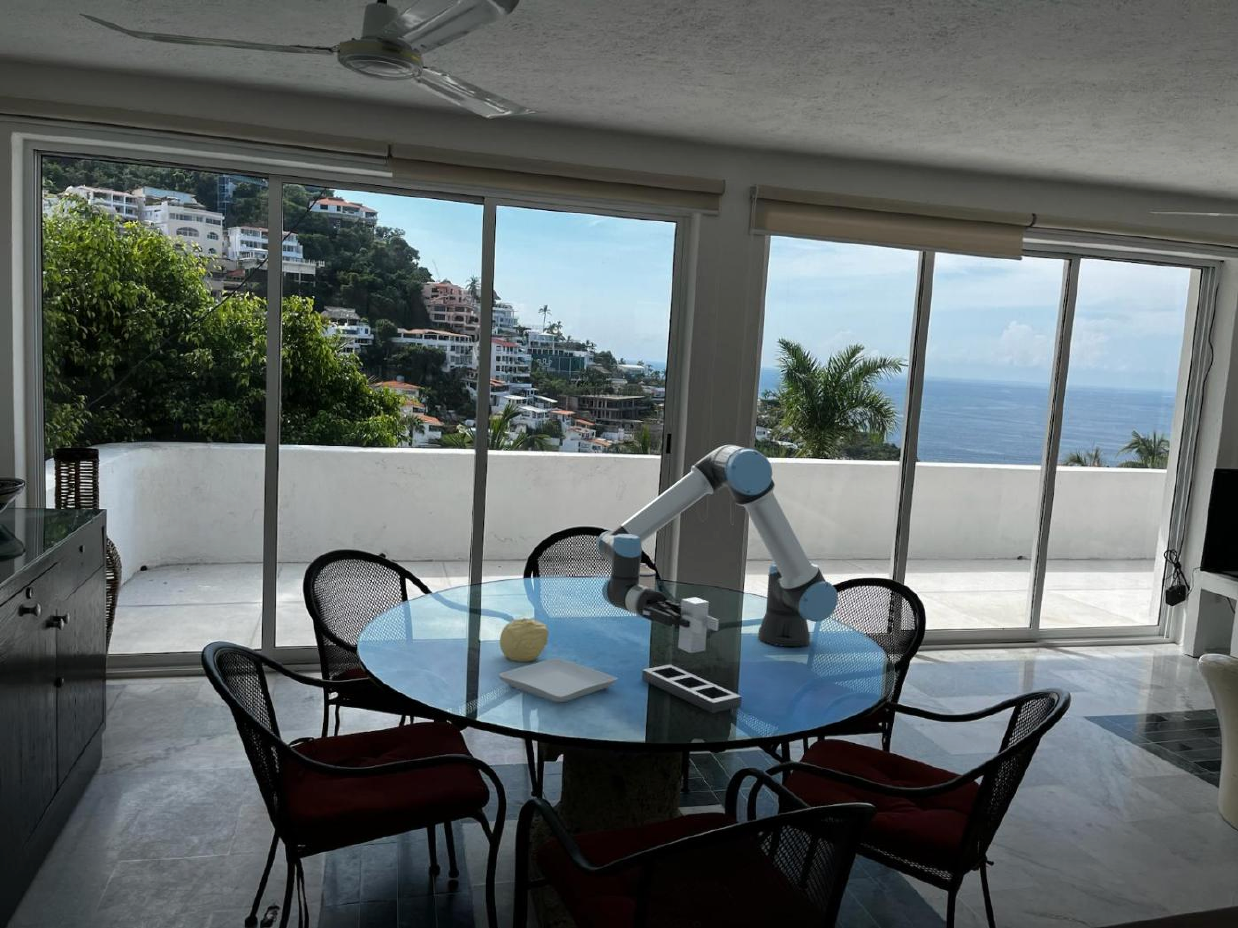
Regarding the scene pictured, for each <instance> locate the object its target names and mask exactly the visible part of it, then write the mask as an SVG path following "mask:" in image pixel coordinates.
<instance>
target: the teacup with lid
mask: <svg viewBox="0 0 1238 928" xmlns="http://www.w3.org/2000/svg"><path fill="white" fill-rule="evenodd" d="M656 575H657V573H656V571H655V570H654V569H652V568H650V567H648V566H647V564H646V563H643V562H641V564H640V577H639V585H642V586H645V587H648V588H651V589H653V590H655V585H656Z"/></svg>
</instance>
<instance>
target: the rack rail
mask: <svg viewBox="0 0 1238 928" xmlns="http://www.w3.org/2000/svg"><path fill="white" fill-rule="evenodd" d="M641 672H642V674H641V680H642V681H645V682H647V683H648V684H651V685H653V686H655V687H657V688H659V689H661V690H664V691H665V692H667V693H669V694H671V695H673V696H676V697H678V698H680V699H682V700H684V701H687V702H688V703H690V704H692V705H694V706H696V707H697V708H698V707H699V708H700V709H702V710H704V711H707V712H708V713H711V714H715V713H719V711H720V712H723V711H724V712H725V711H727V710H728V711H729V710H732V709H737V708H741V706H742V695H739V694H738V693H735V692H733V691H730V690H729V689H726V688H724V687H721V686H719V685H718V684H715V683H713V682H710V681H708V680H706V679H704V678H701V677H699V676H697V675H695V674H692V673H690V672H688V671H686V670H684V669H681V668H679V667H677V666H674V665H673V664H665V665H660V666H655V667H650V668H643V669H642V671H641ZM714 697H715V698H714Z"/></svg>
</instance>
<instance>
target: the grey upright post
mask: <svg viewBox="0 0 1238 928" xmlns="http://www.w3.org/2000/svg"><path fill="white" fill-rule="evenodd" d="M681 602H682V603H681ZM681 602H680V603H681V616H682V615H685V616H687V617H690V618H693V619H695V620H698V621H701V622H702V630H701V633H700V634H699V633H696V632H693V631H691V630H688V629H686V628H683V627H681V626H680V629H678V630H679V632H678V645H677V648H678V649H680V650H682V651H685V652H687V653H689V654H692V653H699V652H704V651H706V646H707V645H706V644H707V642H706V641H707V631H708V630H707V629H708V628H707V619H708V616H709V604H710V602H709V601H708V600H705V599H702V598H699V597H688V598H681ZM681 616H680V618H681Z"/></svg>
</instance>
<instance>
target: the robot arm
mask: <svg viewBox="0 0 1238 928" xmlns="http://www.w3.org/2000/svg"><path fill="white" fill-rule="evenodd" d="M772 468H773V467H772V465H771V463H770V460H769V459H768V458H767V456H765V455H764V454H763V453H761V452H759V450H756V449H753V448H749V447H747V448H746V447H744V446H743V447H742V446H739V445H736V444H726V445H722V446H720V447H717V448H716V449H714V450H712V451H711V452H709V453H708V454H707V455H705V456H703V458H701V459H700V460H699V461H697V462H696V463H695V464H694V465H693V464H692V465H691V468H690V472H689V473H688V474H686V475H685V476H683V477H682V478H680V479H679V480H678V481H677V482H675V483H674V484H673V485H672V486H670V487H669V488H667V490H665V491H663V493H661V494H660V495H658V497H656V498H654V499H653V500H652V501H650V502H649V503H648V504H646V505H645V506H644V507H643V508H642V509H640V510H639V511H637V512H636V513H635V514H633V515H632V516H630V517H629V518H628V519H627V520H625V521H624V522H623V523H621V524H620V525H619V526H617V527H616V528H614V529H613V530H607V531H605V532H604V531H603V532H601V534H600V535H599V536H598V537H597V540H596V549H597V551H598V552H599V554H600V556H601V557H602V558H604V559H605V560H606V561H608V562H609V563H610V564H611V573H610V577H608V578H607V579H606V580H605V581H604V584H603V586H602V588H601V594H602V597H603V600H604V601H606V603H608V604H609V605H612V606H613V607H615V608H618V609H622V610H624V611H627V612H630V613H631V614H634V615H637V618H640V617H642V618H643V619H646V620H649V621H651V622H658V623H660V624H662V625H665V626H666V627H667V626H668V627H673V626H674V629H675V630H680V626H681V627H683V628H686V629H688V630H691V631H693V632H696V633H699V634H700V633H701V630H702V622H701V621H698V620H695V619H693V618H690V617H687V616H685V615H682V616H681V603H682V601H680V603H675V602H673V601H672V600H668V599H667V596H666V595H665V594H664V593H663V592H661V591H658V590H655V589H654V590H653V589H651V588H648V587H645V586H642V585H639V577H640V564H641V563H642V562H641V561H642V552H643V548H642V547H643V546H642V545H643V544H642V543H644V542H645V541H646V540H647V539H649V538H650V537H652V535H655V533H656V532H658V531H659V530H661V529H662V528H663V527H664V526H666V525H667V524H669V523H670V522H671V521H672V520H674V519H675V518H676V517H678V516H679V515H680V514H682V513H683V512H684V511H686V510H687V509H689V507H691V506H692V505H694V504H695V503H696V502H698V501H699V500H700V499H701V498H703V497H704V496H706V495H707V494H710V495H713V494H714V493H715V492H717V491H719V490H720V489H723V488H727V489H728V490H729V493H730V494H731V496H732V499H733V500H734V502H735V504H736V505H737V506H741V507H743V508H745V510H746V512H747V513H748V516H749V517H750V520H751V522H752V523H753V525H754V527H755V529H756V532H757V533H758V534H759V535H758V536H759V537H760V538H761V540H762V542H763V544H764V546H765V547H766V549H767V552H768V554H769V555H770V557H771V559H772V561H773V562H774V563H772V564H771V565H770V566H769V571H768V575H767V576H768V580H767V581H768V582H767V595H766V610H765V614H764V615H763V616H764V617H763V619H762V621H761V623H760V627H759V628H758V635H757V637H758V639H759V640H760V641H761V642H763V643H765V642H768V643H771V644H770V645H772V644H777V645H782V646H781V647H783V646H795V647H794V648H799V647H798V646H802V647H806V646H808V645H810V643H811V633H810V630H809V625H808V621H810V622H814V623H815V622H816V623H817V622H822V621H825V620H827V619H828V618H829V617H830V616H832V615H833V614H834V612H835V610H836V609H837V605H838V602H839V596H838V595H839V594H838V591H837V589H836V587H834V585H833V584H832V583H830V582H829V581H826V579H825V577H824V575H823V573H822V571H821V569H820V568H819V566H818V564H816V563H815V562H810V561H809V559H808V556H807V555H806V553H805V551H804V549H803V547H802V545H801V544H800V542H799V540H798V537H797V536H796V534H795V532H794V530H793V529H792V527H791V526H792V525H790V522H789V520H788V518H787V517H786V515H785V513H784V511H783V509H782V507H781V506H780V505H781V504H780V503H779V502H778V500H777V499H778V498H776V495H775V494H774V489H775V486H776V484H775V482H774V480H773V478H772V476H773V469H772ZM680 616H681V618H680ZM707 629H710V630H712V631H714V632H715V631H716V632H717V631H719V618H715V617H712V616H711V615H708V619H707ZM768 643H767V644H768ZM807 644H808V645H807ZM777 645H776V646H777ZM805 645H806V646H805ZM796 646H797V647H796Z"/></svg>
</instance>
